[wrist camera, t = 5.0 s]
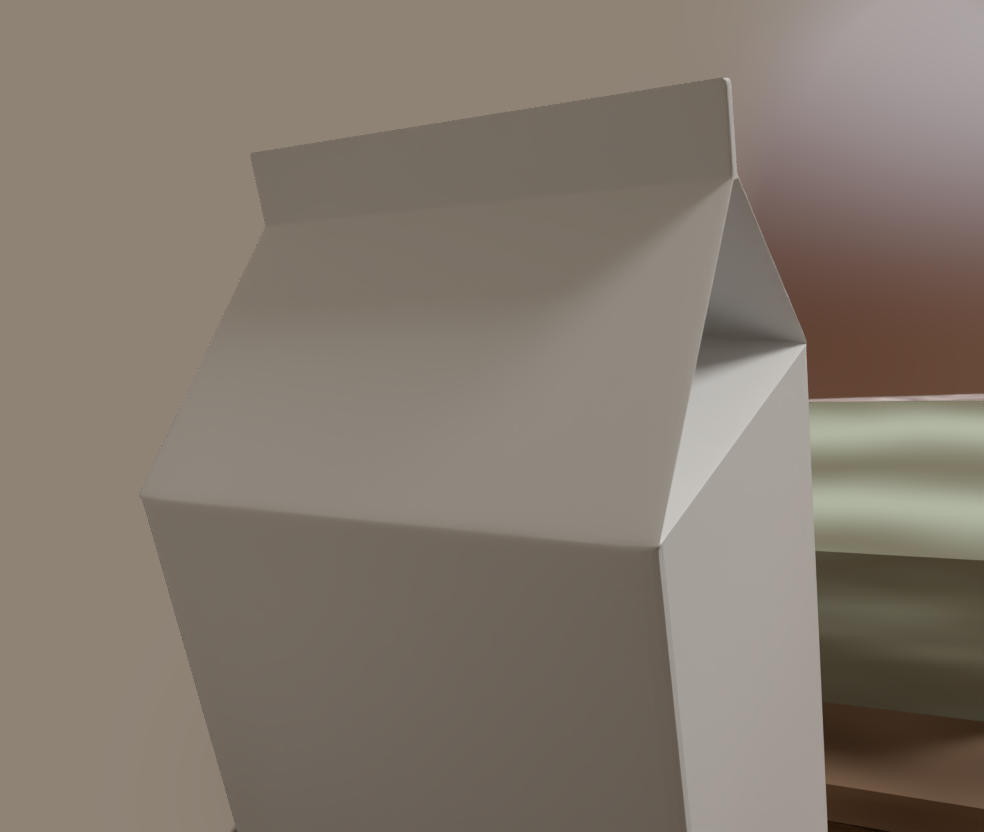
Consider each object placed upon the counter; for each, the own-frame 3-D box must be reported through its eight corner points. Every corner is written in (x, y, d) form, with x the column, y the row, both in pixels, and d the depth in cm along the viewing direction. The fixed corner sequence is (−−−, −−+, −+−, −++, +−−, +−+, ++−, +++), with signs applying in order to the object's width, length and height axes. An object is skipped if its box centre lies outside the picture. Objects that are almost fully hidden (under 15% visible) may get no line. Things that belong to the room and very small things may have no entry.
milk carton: (754, 1503, 13) (608, 91, 7) (355, 1260, 16) (43, 183, 11) (839, 1051, 19) (796, 67, 13) (530, 943, 22) (388, 132, 17)
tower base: (620, 497, 47) (607, 380, 45) (1086, 514, 38) (1094, 371, 36) (443, 752, 30) (409, 581, 28) (1215, 888, 21) (1243, 653, 19)
